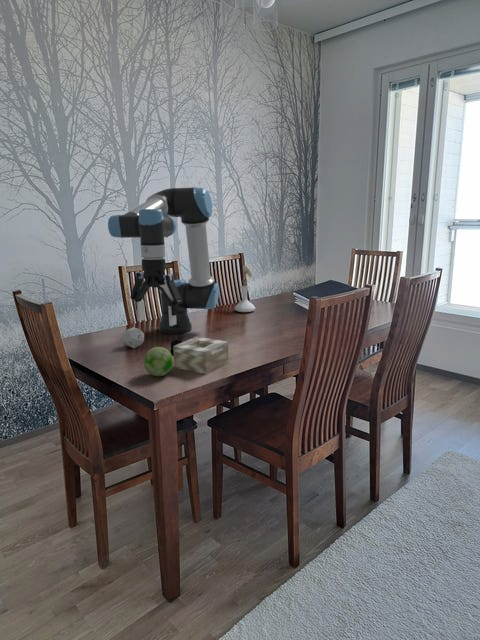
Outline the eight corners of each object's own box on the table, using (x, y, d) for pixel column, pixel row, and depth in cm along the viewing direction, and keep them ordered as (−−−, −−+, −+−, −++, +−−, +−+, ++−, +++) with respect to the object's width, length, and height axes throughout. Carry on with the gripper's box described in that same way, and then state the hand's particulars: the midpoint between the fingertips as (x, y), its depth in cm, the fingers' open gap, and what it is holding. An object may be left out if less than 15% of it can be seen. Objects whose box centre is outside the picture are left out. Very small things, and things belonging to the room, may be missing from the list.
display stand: (174, 367, 166) (173, 346, 164) (197, 356, 178) (197, 336, 176) (206, 374, 159) (205, 352, 157) (228, 362, 170) (228, 341, 168)
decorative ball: (146, 371, 163) (145, 343, 161) (175, 370, 163) (173, 342, 161) (142, 381, 153) (140, 352, 151) (172, 380, 154) (171, 351, 151)
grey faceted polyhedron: (122, 351, 187) (133, 334, 183) (117, 337, 193) (127, 320, 189) (139, 354, 193) (151, 338, 189) (134, 340, 198) (145, 324, 194)
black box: (177, 359, 177) (177, 347, 176) (159, 357, 180) (159, 345, 178) (192, 349, 189) (192, 337, 188) (175, 347, 192) (175, 336, 190)
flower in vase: (255, 313, 248) (255, 266, 242) (234, 313, 248) (233, 267, 242) (255, 308, 260) (255, 263, 254) (234, 308, 260) (234, 264, 254)
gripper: (116, 257, 152) (121, 320, 157) (176, 261, 139) (179, 329, 144) (133, 255, 158) (137, 316, 163) (191, 258, 145) (194, 324, 150)
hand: (156, 322), depth 154 cm, fingers open, 13 cm apart
